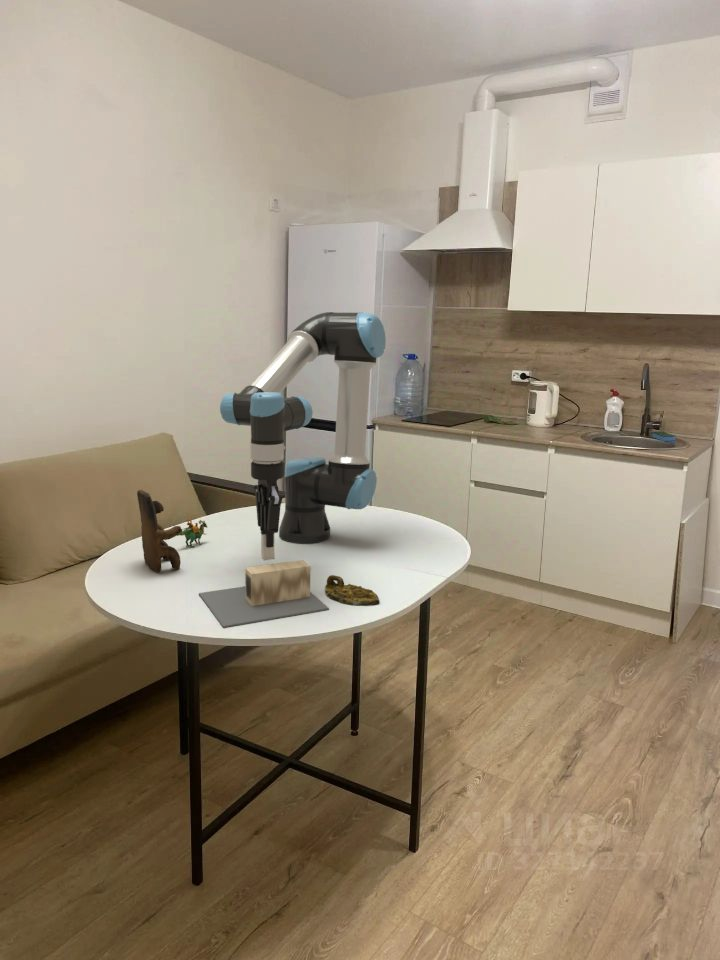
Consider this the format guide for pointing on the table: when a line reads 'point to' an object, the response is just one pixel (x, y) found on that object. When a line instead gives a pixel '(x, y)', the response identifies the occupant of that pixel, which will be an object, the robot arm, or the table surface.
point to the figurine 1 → (156, 534)
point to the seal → (349, 593)
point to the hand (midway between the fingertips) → (268, 558)
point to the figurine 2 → (193, 532)
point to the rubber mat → (255, 607)
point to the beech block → (277, 582)
